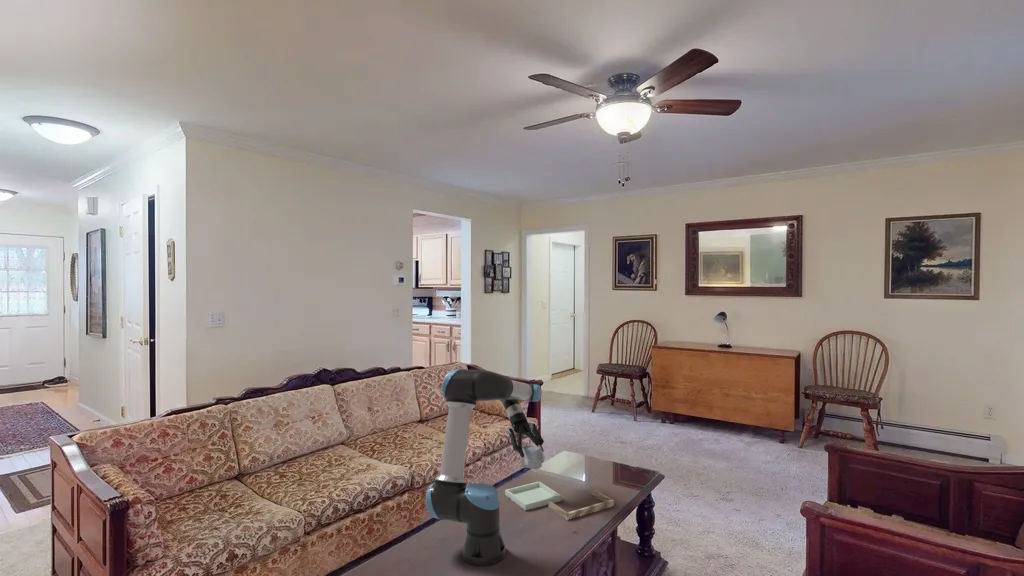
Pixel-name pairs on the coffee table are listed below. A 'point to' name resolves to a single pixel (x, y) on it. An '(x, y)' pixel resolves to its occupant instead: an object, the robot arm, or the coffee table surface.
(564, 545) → the coffee table surface
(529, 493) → the sage-green tray
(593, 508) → the frame
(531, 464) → the medicine box
